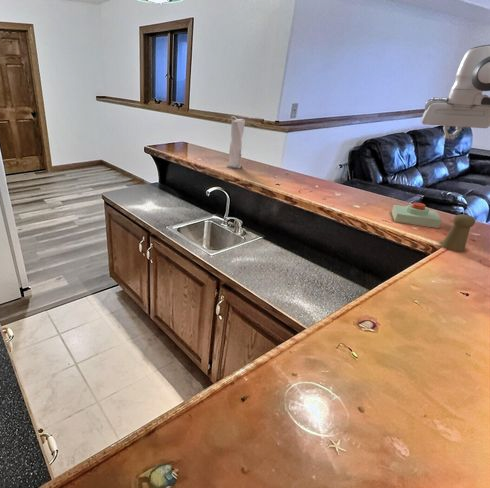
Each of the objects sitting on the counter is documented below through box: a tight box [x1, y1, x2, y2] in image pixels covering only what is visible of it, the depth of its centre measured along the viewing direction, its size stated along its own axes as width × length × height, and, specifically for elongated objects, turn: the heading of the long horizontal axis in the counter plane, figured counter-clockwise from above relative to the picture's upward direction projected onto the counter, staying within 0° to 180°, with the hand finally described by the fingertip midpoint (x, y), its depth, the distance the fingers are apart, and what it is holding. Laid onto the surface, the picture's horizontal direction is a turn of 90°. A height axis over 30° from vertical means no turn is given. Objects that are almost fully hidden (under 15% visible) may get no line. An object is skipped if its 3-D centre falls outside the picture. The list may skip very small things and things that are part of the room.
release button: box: [411, 202, 427, 210], centre depth 132 cm, size 4×4×2 cm
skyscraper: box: [227, 115, 246, 170], centre depth 199 cm, size 8×8×28 cm
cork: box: [441, 213, 476, 252], centre depth 111 cm, size 6×6×11 cm
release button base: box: [391, 204, 443, 229], centre depth 133 cm, size 14×11×5 cm
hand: (448, 139), depth 128 cm, fingers closed
